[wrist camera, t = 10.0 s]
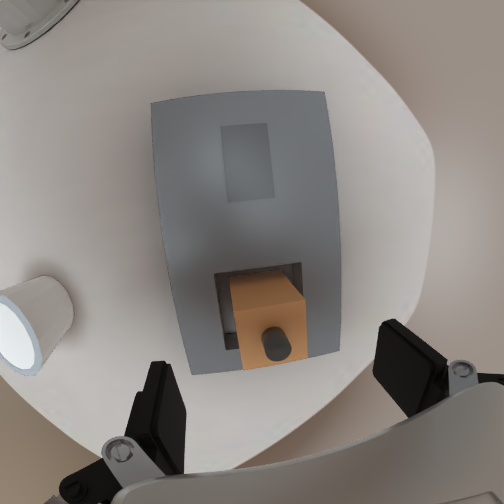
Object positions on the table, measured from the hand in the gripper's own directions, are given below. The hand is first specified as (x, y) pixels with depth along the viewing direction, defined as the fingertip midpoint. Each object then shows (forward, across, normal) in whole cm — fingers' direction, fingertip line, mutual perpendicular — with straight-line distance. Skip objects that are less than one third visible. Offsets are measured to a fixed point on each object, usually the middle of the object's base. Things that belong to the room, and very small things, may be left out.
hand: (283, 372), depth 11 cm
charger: (+11, 0, +1) cm, 11 cm away
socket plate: (+11, 0, -4) cm, 12 cm away
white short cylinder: (+11, +18, 0) cm, 22 cm away
